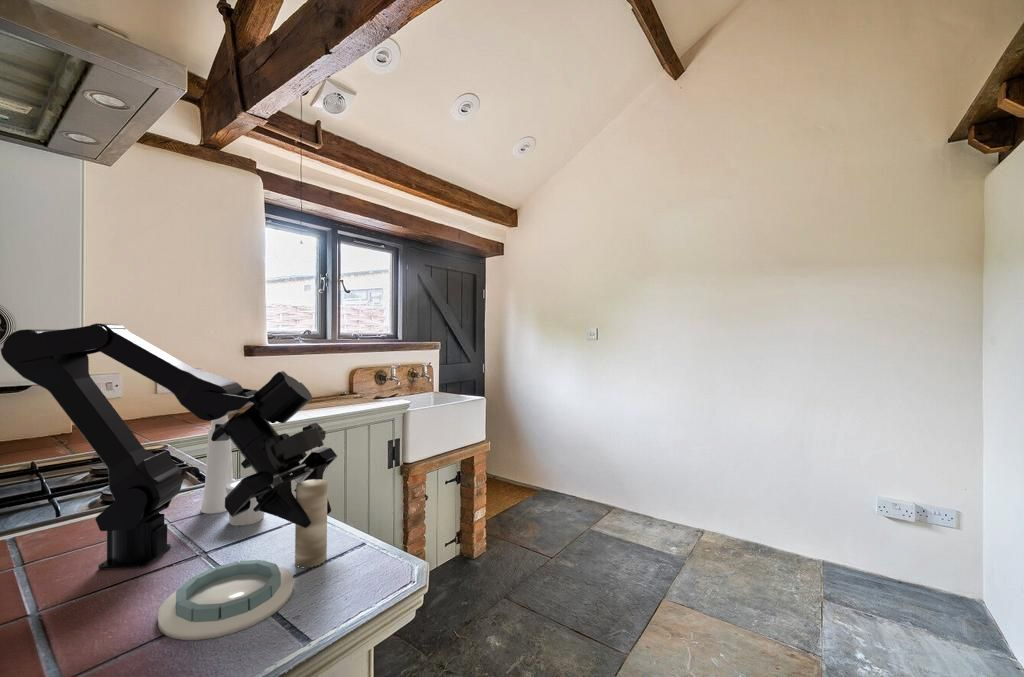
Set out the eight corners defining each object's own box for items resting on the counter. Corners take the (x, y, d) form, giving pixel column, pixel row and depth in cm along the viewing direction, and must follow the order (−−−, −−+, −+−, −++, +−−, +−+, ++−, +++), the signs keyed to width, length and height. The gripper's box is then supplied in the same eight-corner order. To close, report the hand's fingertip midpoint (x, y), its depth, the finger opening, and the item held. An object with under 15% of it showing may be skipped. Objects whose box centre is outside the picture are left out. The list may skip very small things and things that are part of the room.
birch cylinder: (290, 568, 67) (291, 489, 67) (301, 553, 72) (301, 479, 71) (321, 567, 68) (322, 488, 68) (330, 552, 72) (331, 478, 72)
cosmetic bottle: (239, 501, 93) (240, 396, 93) (232, 511, 88) (233, 400, 88) (205, 504, 91) (206, 397, 91) (196, 515, 86) (197, 401, 85)
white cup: (248, 528, 81) (248, 490, 80) (216, 525, 82) (216, 487, 82) (275, 513, 87) (276, 478, 87) (245, 510, 89) (245, 475, 89)
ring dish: (126, 644, 51) (126, 622, 51) (202, 573, 65) (202, 556, 65) (265, 635, 52) (265, 614, 52) (308, 568, 67) (308, 552, 67)
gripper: (242, 421, 61) (311, 509, 59) (328, 401, 79) (383, 468, 77) (195, 473, 63) (260, 561, 61) (289, 442, 81) (342, 509, 79)
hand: (319, 519), depth 69 cm, fingers closed on birch cylinder, 4 cm apart
